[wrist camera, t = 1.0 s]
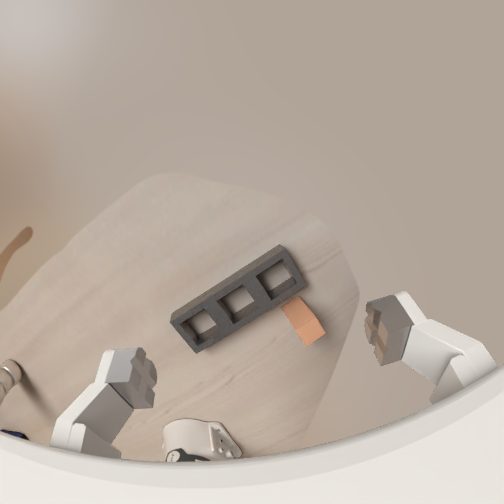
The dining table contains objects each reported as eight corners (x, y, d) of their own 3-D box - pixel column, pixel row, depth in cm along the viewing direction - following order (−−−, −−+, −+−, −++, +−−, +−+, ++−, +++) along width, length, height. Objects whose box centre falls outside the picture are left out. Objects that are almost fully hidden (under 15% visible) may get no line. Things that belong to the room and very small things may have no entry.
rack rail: (300, 278, 55) (306, 285, 51) (196, 343, 55) (196, 353, 51) (279, 244, 53) (284, 248, 49) (172, 313, 53) (169, 322, 49)
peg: (307, 311, 57) (325, 333, 47) (290, 321, 57) (306, 346, 47) (298, 296, 56) (316, 317, 46) (281, 307, 56) (295, 330, 46)
